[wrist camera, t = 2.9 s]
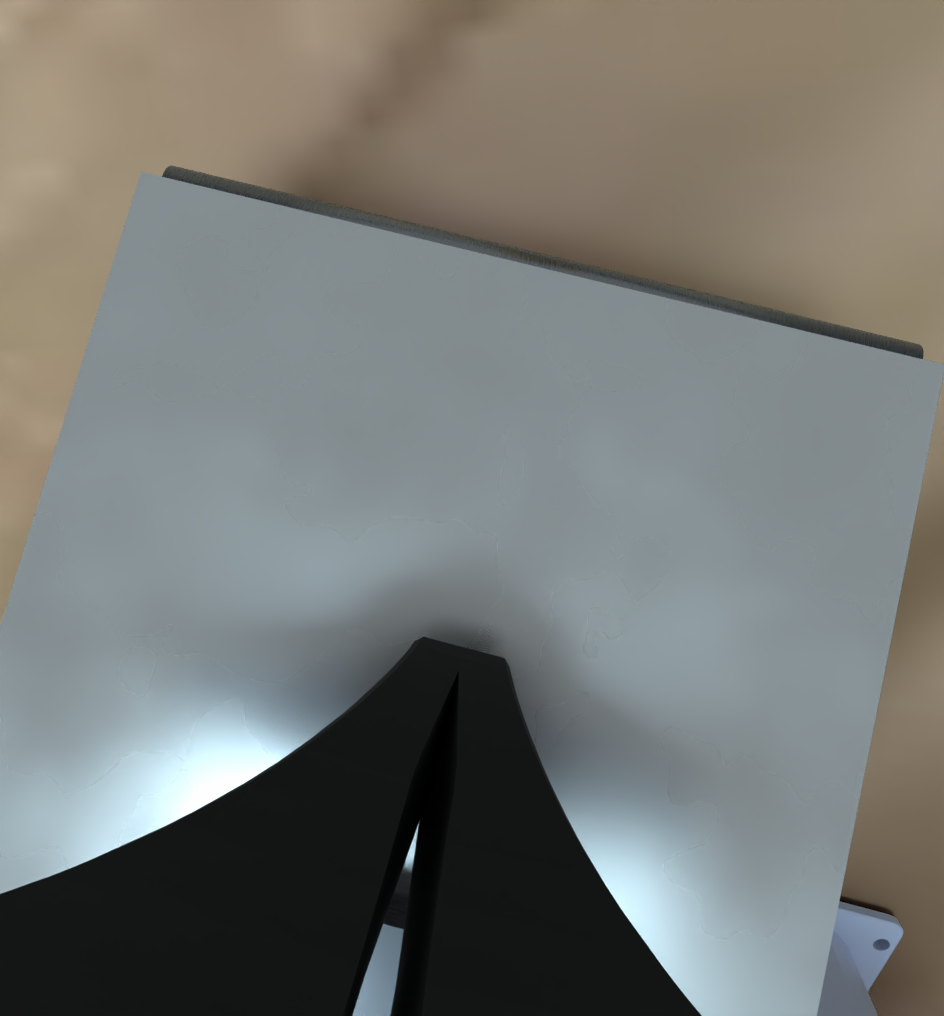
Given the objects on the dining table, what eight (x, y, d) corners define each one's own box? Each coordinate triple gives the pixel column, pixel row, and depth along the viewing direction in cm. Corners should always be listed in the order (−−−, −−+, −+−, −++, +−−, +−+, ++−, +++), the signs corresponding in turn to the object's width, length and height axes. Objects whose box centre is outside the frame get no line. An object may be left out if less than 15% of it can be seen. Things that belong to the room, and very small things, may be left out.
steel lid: (766, 1123, 12) (818, 1223, 10) (-54, 896, 12) (-146, 952, 10) (920, 357, 13) (992, 322, 11) (166, 176, 13) (118, 115, 12)
